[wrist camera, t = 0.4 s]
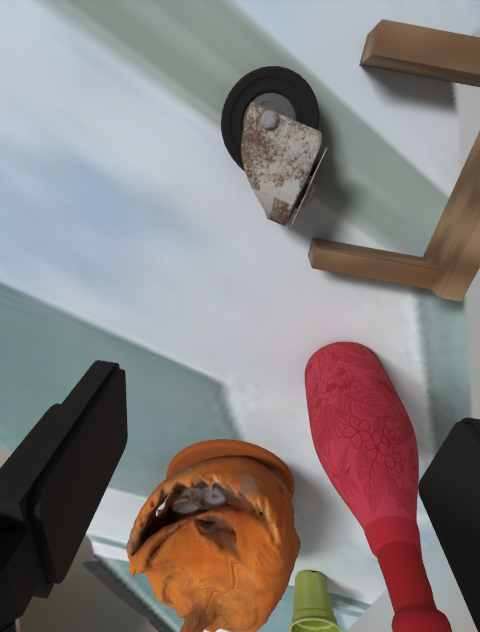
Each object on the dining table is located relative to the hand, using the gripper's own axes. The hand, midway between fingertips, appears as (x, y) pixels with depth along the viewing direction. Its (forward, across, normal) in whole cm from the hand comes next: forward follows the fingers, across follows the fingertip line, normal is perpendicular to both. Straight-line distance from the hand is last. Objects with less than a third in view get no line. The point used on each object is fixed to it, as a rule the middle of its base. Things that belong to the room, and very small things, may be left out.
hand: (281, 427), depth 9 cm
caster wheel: (+29, +1, -6) cm, 30 cm away
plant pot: (+29, -21, +71) cm, 79 cm away
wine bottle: (+29, -12, +17) cm, 36 cm away
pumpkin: (+29, -1, +44) cm, 53 cm away
